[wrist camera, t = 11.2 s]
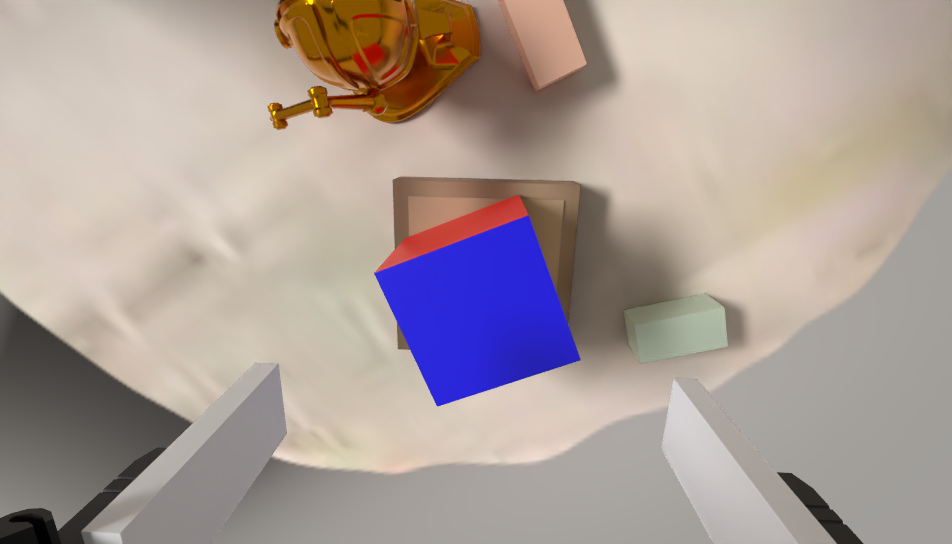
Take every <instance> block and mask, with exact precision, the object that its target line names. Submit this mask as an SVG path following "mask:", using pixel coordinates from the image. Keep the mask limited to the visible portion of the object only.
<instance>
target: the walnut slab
mask: <svg viewBox="0 0 952 544" xmlns="http://www.w3.org/2000/svg"><path fill="white" fill-rule="evenodd" d="M580 186H581V185H580V184H578V183H576V182H574V181H544V180H507V179H470V178H433V177H398V178H396V179H394V180H393V202H394V235H395V249H396V248H397V247H398V246H399V244H400V243H401V242H402V241H403V240H404V239H405V238H407V237H409V236H412V235H415V234H417V233H420V232H422V231H425V230H428V229H430V228H433V227H435V226H438V225H441V224H443V223H446V222H448V221H451V220H454V219H456V218H459V217H461V216H464V215H467V214H469V213H472V212H474V211H477V210H480V209H482V208H485V207H487V206H490V205H493V204H495V203H498V202H500V201H503V200H506V199H508V198H511V197H513V196H516V195H519V196H520V198H521V200H522V202H523V204H524V206H525V208H526V211H527V213H528V215H529V217H530V220H531V223H532V226H533V229H534V231H535V234H536V237H537V240H538V243H539V245H540V248H541V251H542V254H543V256H544V259H545V262H546V265H547V268H548V270H549V273H550V276H551V279H552V282H553V284H554V287H555V290H556V293H557V295H558V298H559V301H560V304H561V307H562V309H563V312H564V315H565V318H566V321H567V323H568V319H569V308H570V297H571V286H572V275H573V264H574V253H575V242H576V231H577V219H578V208H579V197H580ZM397 334H398V349H407V350H410V348H409V346H408V344H407V342H406V339H405V337H404V335H403V333H402V331H401V329H400V327H399V325H398V323H397Z"/></svg>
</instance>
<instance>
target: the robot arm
mask: <svg viewBox="0 0 952 544" xmlns="http://www.w3.org/2000/svg"><path fill="white" fill-rule="evenodd" d="M286 434H287V430H286V422H285V413H284V405H283V397H282V389H281V380H280V372H279V364H276V363H255V364H254V365H253V366H252V367H251V368H250V369H249V370H248V371H247V372H246V373H245V374H244V375H243V376H242V377H241V378H240V379H239V380H238V381H237V382H235V383H234V384H233V385H232V386H231V387H230V388H229V389H228V390H227V391H226V392H225V393H224V394H223V395H222V396H221V397H220V398H219V399H218V400H217V401H216V402H215V403H214V404H213V405H212V406H211V407H210V408H208V409H207V410H206V411H205V412H204V413H203V414H202V415H201V416H200V417H199V418H198V419H197V420H196V421H195V422H194V423H193V424H192V425H191V426H190V427H189V428H188V429H187V430H186V431H185V432H184V433H183V434H182V435H181V436H180V437H178V438H177V439H176V440H175V441H174V442H173V443H172V444H171V445H170V446H169V447H168V448H156V449H154V450H152V451H151V452H149V453H147V454H146V455H144V456H142V457H141V458H139V459H137V460H135V461H134V462H133V463H132V464H131V465H130V466H129V467H128V468H127V469H125V470H124V471H123V472H122V473H121V474H120V475H119V476H118V479H117V480H113V481H112V482H111V483H110V484H109V485H108V486H107V487H106V488H105V489H104V491H103V493H99V494H98V495H97V496H96V497H95V498H94V499H93V500H92V501H90V502H89V503H88V504H87V505H86V506H85V507H84V508H83V509H82V510H80V511H79V512H78V513H77V514H76V515H75V516H74V517H73V518H72V519H71V520H70V521H68V522H67V523H66V524H65V525H64V526H63V527H62V528H61V529H60V530H59V531H57V528H56V525H55V522H54V519H53V516H52V513H51V511H48V510H46V509H43V508H38V509H26V510H22V511H19V512H15V513H11V514H9V515H6V516H4V517H2V518H0V544H211V543H212V542H213V540H214V539H215V537H216V536H217V534H218V533H219V531H220V530H221V529H222V527H223V525H224V524H225V523H226V521H227V520H228V518H229V517H230V515H231V514H232V513H233V511H234V510H235V508H236V507H237V505H238V504H239V502H240V501H241V499H242V498H243V497H244V495H245V494H246V492H247V491H248V489H249V488H250V486H251V485H252V483H253V482H254V480H255V479H256V478H257V476H258V475H259V473H260V472H261V470H262V469H263V467H264V466H265V464H266V463H267V462H268V460H269V459H270V457H271V456H272V454H273V453H274V451H275V450H276V448H277V447H278V446H279V444H280V443H281V441H282V440H283V438H284V437H285V435H286ZM662 451H663V453H664V454H665V456H666V458H667V460H668V461H669V464H670V465H671V467H672V469H673V471H674V472H675V474H676V476H677V478H678V480H679V482H680V484H681V486H682V487H683V489H684V491H685V493H686V495H687V496H688V498H689V500H690V502H691V503H692V506H693V508H694V509H695V511H696V513H697V515H698V516H699V518H700V520H701V522H702V524H703V526H704V528H705V529H706V531H707V533H708V535H709V537H710V539H711V541H712V542H713V544H863V543H862V542H861V540H860V539H859V538H858V537H857V536H856V535H855V534H854V533H853V532H852V531H851V529H850V528H849V527H848V526H847V525H844V524H843V521H842V520H841V519H840V517H839V516H838V515H837V514H836V513H835V512H834V511H833V510H830V509H829V506H828V504H827V503H826V502H825V501H824V500H823V499H822V498H821V497H820V496H819V495H818V493H817V492H816V491H815V490H814V489H813V488H812V487H810V486H809V485H807V484H806V483H805V482H803V481H802V480H800V479H799V478H797V477H796V476H795V475H793V474H792V473H778V472H776V471H775V470H774V469H773V468H772V467H771V465H770V464H769V463H768V462H767V461H766V459H765V458H764V457H763V456H762V455H761V454H760V452H759V451H758V450H757V449H756V448H755V447H754V445H753V444H752V443H751V442H750V441H749V439H748V438H747V437H746V436H745V435H744V434H743V432H742V431H741V430H740V429H739V428H738V427H737V425H736V424H735V423H734V422H733V421H732V419H731V418H730V417H729V416H728V415H727V414H726V413H725V411H724V410H723V409H722V408H721V406H720V405H719V404H718V403H717V402H716V401H715V399H714V398H713V397H712V396H711V395H710V394H709V392H708V391H707V390H706V389H705V388H704V386H703V385H702V384H701V383H700V382H699V381H698V379H678V378H674V380H673V386H672V391H671V397H670V403H669V408H668V414H667V420H666V426H665V431H664V437H663V443H662Z"/></svg>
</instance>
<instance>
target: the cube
mask: <svg viewBox="0 0 952 544" xmlns="http://www.w3.org/2000/svg"><path fill="white" fill-rule="evenodd" d="M374 274H375V276H376V278H377V280H378V282H379V284H380V287H381V289H382V291H383V293H384V295H385V297H386V299H387V301H388V304H389V306H390V308H391V310H392V312H393V314H394V316H395V318H396V320H397V323H398V325H399V327H400V329H401V331H402V333H403V335H404V337H405V339H406V342H407V344H408V346H409V348H410V350H411V352H412V354H413V356H414V359H415V361H416V363H417V365H418V367H419V369H420V371H421V373H422V375H423V378H424V380H425V382H426V384H427V386H428V388H429V390H430V392H431V395H432V397H433V399H434V401H435V403H436V405H437V406H441V405H444V404H447V403H450V402H453V401H456V400H459V399H462V398H465V397H468V396H471V395H475V394H478V393H481V392H484V391H487V390H490V389H493V388H496V387H499V386H502V385H505V384H508V383H512V382H515V381H518V380H521V379H524V378H527V377H530V376H533V375H536V374H539V373H542V372H546V371H549V370H552V369H555V368H558V367H561V366H564V365H567V364H570V363H573V362H576V361H580V357H579V354H578V351H577V348H576V346H575V343H574V340H573V337H572V334H571V332H570V329H569V326H568V323H567V321H566V318H565V315H564V312H563V309H562V307H561V304H560V301H559V298H558V295H557V293H556V290H555V287H554V284H553V282H552V279H551V276H550V273H549V270H548V268H547V265H546V262H545V259H544V256H543V254H542V251H541V248H540V245H539V243H538V240H537V237H536V234H535V231H534V229H533V226H532V223H531V220H530V217H529V215H528V213H527V211H526V208H525V206H524V204H523V202H522V200H521V198H520V196H519V195H516V196H513V197H511V198H508V199H506V200H503V201H500V202H498V203H495V204H493V205H490V206H487V207H485V208H482V209H480V210H477V211H474V212H472V213H469V214H467V215H464V216H461V217H459V218H456V219H454V220H451V221H448V222H446V223H443V224H441V225H438V226H435V227H433V228H430V229H428V230H425V231H422V232H420V233H417V234H415V235H412V236H409V237H407V238H405V239H404V240H403V241H402V242H401V243H400V244H399V246H398V247H397V248H396V249H395V250H394V251H393V252H392V254H391V255H390V256H389V257H388V258H387V259H386V260H385V262H384V263H383V264H382V265H381V266H380V267H379V268H378V270H377V271H376V272H375V273H374Z"/></svg>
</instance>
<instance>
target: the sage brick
mask: <svg viewBox="0 0 952 544" xmlns="http://www.w3.org/2000/svg"><path fill="white" fill-rule="evenodd" d="M623 312H624V319H625V325H626V331H627V337H628V344H629V347H630V348H631V350H632V351H633V353H634V354H635V356H636V357H637V359H638V360H639V362H640V363H646V362H651V361H657V360H662V359H667V358H672V357H677V356H682V355H688V354H693V353H698V352H703V351H708V350H714V349H719V348H724V347H728V341H727V330H726V319H725V308H724V307H723V306H722V305H721V304H719V303H718V302H717V301H715V300H714V299H712V298H711V297H710V296H708V295H707V294H706V293H704V294H699V295H694V296H689V297H685V298H680V299H675V300H670V301H665V302H660V303H655V304H651V305H646V306H641V307H636V308H631V309H626V310H623Z"/></svg>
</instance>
